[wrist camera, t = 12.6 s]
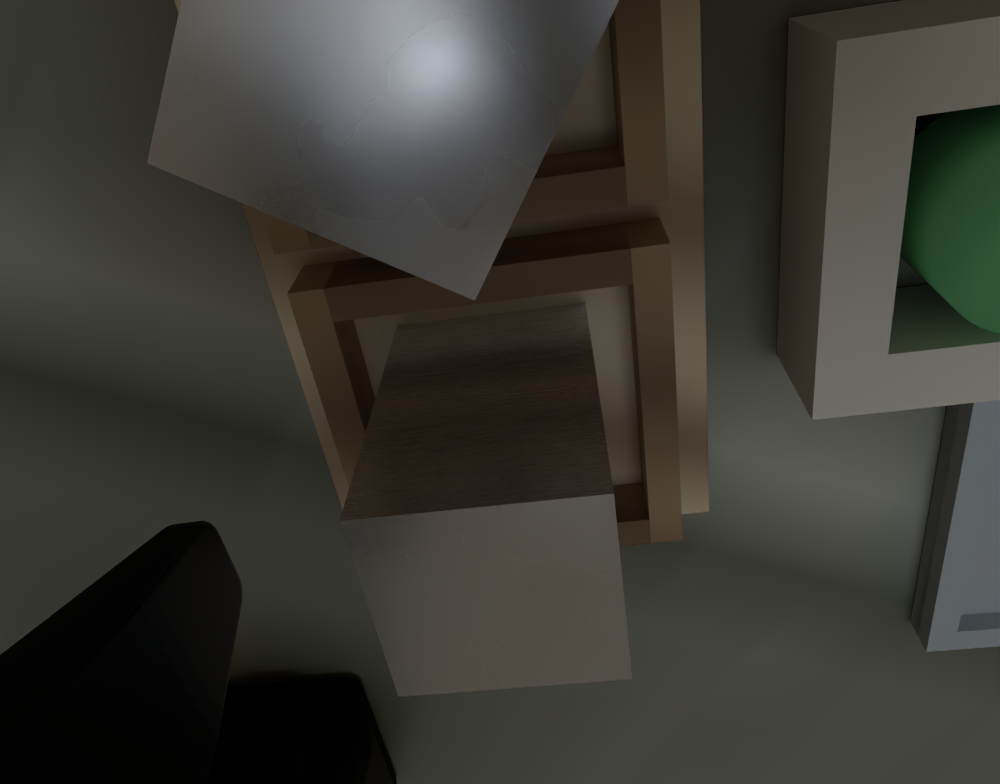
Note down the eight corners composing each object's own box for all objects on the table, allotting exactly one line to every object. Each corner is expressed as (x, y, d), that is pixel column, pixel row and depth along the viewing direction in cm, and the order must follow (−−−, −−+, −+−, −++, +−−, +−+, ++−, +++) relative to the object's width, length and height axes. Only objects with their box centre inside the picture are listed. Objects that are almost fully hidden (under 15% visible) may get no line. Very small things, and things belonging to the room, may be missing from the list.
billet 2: (601, 456, 21) (631, 679, 15) (433, 474, 21) (398, 696, 15) (585, 301, 19) (614, 493, 13) (396, 325, 19) (339, 521, 13)
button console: (1107, 316, 20) (1194, 379, 17) (776, 354, 21) (812, 419, 18) (1208, -48, 16) (1341, -37, 13) (788, 18, 16) (837, 41, 14)
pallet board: (700, 483, 23) (720, 549, 21) (361, 518, 24) (344, 584, 22) (681, -349, 13) (712, -399, 11) (123, -234, 14) (48, -258, 12)
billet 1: (492, 157, 17) (474, 300, 11) (287, 62, 16) (146, 163, 10) (591, -66, 15) (638, -39, 9) (360, -190, 14) (235, -254, 8)
